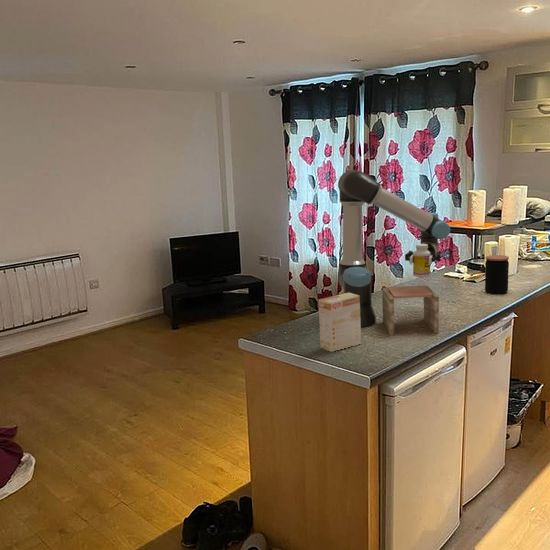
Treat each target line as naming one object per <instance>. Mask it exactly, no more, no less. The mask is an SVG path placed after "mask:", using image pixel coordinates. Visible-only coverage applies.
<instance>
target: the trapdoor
mask: <svg viewBox="0 0 550 550" xmlns="http://www.w3.org/2000/svg"><path fill="white" fill-rule="evenodd" d="M424 286H425V285H411V286H410V285H409V286H408V285H407V286H391V287H387V288H386V289H387V290H388V291H389V292H390V294H391V296H392V297H393V299H409V298H410V299H412V298H424V297H432V294H431V293H430V292H429V291H428V290H427V289H426V288H425V287H424Z"/></svg>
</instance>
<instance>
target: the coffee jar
mask: <svg viewBox="0 0 550 550" xmlns="http://www.w3.org/2000/svg"><path fill="white" fill-rule="evenodd" d="M509 258H510V257H509V256H507V255H501V254H492V255H491V254H490V255H486V256H485V263H484V264H485V269H484V270H485V271H484V272H485V273H484V292H486V293H487V294H488V293H490V294H489V295H493V294H502V295H506V294H507V293H508V291H509V266H510V264H509V263H510V262H509ZM505 293H506V294H505Z"/></svg>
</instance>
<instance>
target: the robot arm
mask: <svg viewBox="0 0 550 550" xmlns="http://www.w3.org/2000/svg"><path fill="white" fill-rule="evenodd" d="M337 187H338V190H339V202H340V203H341V205H342V259H341V260H340V261H339V262H338V263H339V264H338V265H339V266H338V267H339V269H338V273H337V280H338V283H339V286H340V287H341V288H342V289H343V294H345V293H352V294H356V295H360V321H361V328H364V327H366V328H367V327H370V326H374V325H375V324H377V315H376V313H375V311H374V308H373V305H372V303H373V302H372V272H371V271H370V270H369V269H368V268H366V261H365V260H364V259H363V208H364V205H365V203H366V204H367V205H375V206H376V207H378V208H380V209H382V210H383V211H385V212H387V213H389V214H391V215H393V216H395V217H396V218H398V219H400V220H402V221H404V222H406V223H407V224H410V225H411V226H413V227H415V228H417V229H419V230H420V244H427V245H428V249H427V250H428V251H429V252H430V257H429V265H430V266H432V264H433V263H435V262H439V263H440V262H441V258H442V254H443V253H442V252H443V251H441V250H439V248H440V246H439V240H444V239H447V238H448V236H449V235H450V233H451V225H449V224H448V223H447V222H446V221H444V220H441V219H439V214H438V213H437V212H427V211H425V210H423V209H421V208H419V207H417V205H415V204H412V203H410V202H409V201H408V200H405V199H404V198H402V197H400V196H399V195H397V194H394V193H392V192H391V191H389V190H387V189H385V188H383V186H382V184H381V183H379V182H378V181H376V180H374V179H373V178H372V177H370V176H369V175H368V174H367V173H365V172H364V171H360V170H356V169H354V170H353V169H351V170H350V169H349V170H347V171H345V172H343V173H342V175H340V177H339V179H338V182H337ZM413 253H414V251H413V250H408V252H406V253H405V254H404V258H405V259H404V260H405V261H407V262H409V265H412V266H413Z"/></svg>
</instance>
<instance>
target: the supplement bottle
mask: <svg viewBox="0 0 550 550" xmlns="http://www.w3.org/2000/svg"><path fill="white" fill-rule="evenodd" d="M415 248H416V250H414V251H413V263H412V271H413V272H412V275H413V277H415V278H416V277H417V278H427V277H430V276H431V265H429V257H430V252H429V251H428V250H427V249H428V245H427V244H421V243H418V244H415Z"/></svg>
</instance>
